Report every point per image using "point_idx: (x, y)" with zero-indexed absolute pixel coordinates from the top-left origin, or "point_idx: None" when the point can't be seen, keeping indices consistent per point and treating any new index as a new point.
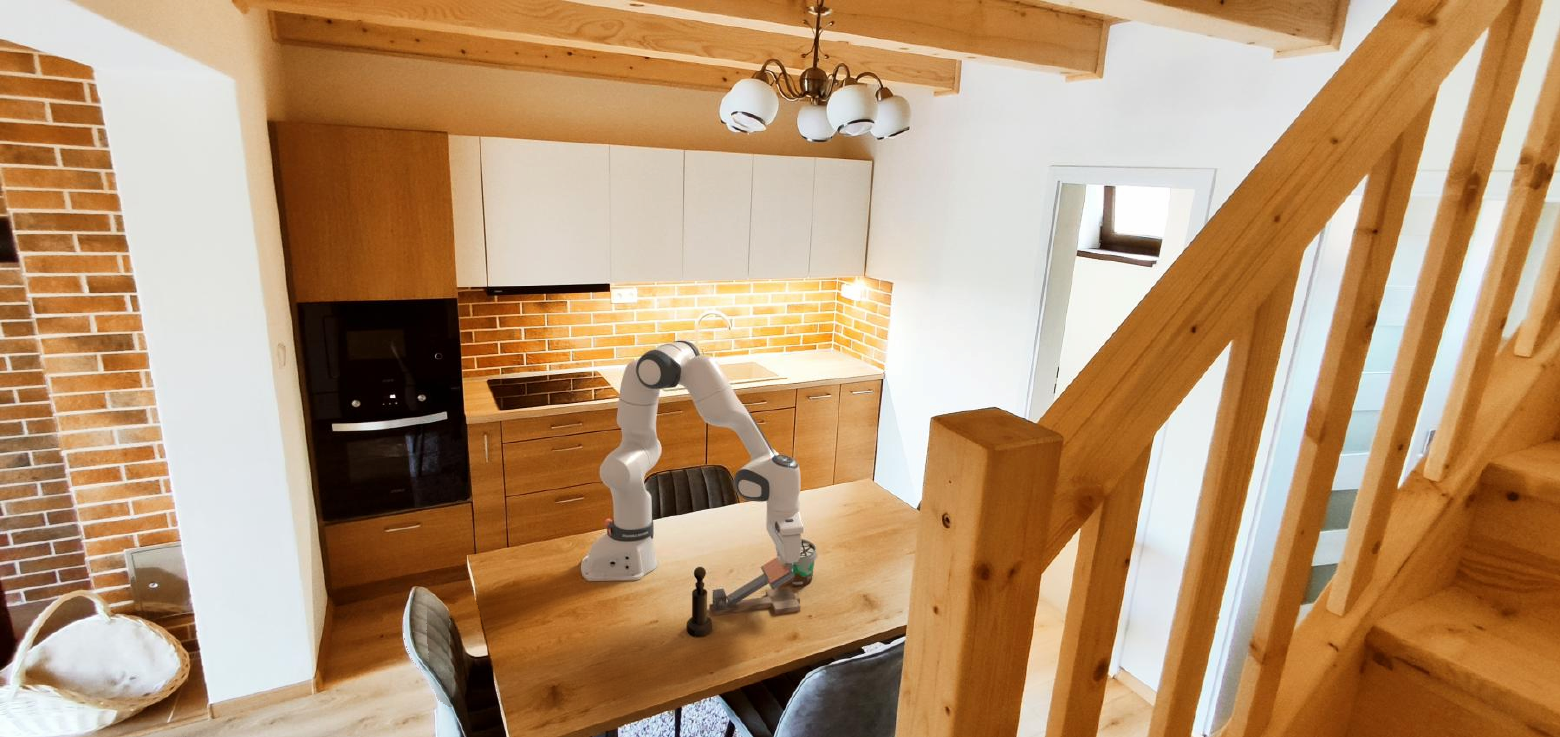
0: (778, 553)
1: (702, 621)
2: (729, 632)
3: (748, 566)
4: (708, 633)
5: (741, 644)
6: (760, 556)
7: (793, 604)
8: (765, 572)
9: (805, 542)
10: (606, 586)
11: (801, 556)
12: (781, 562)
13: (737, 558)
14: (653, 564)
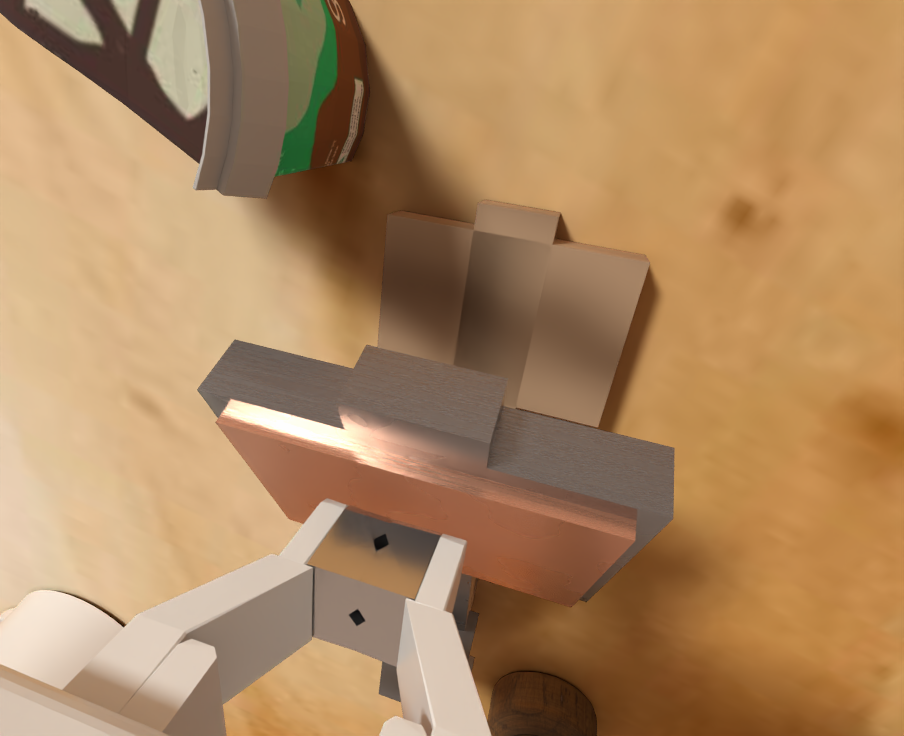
0: (304, 634)
1: None
2: (620, 645)
3: (112, 311)
4: (592, 713)
5: (740, 658)
6: (15, 199)
7: (603, 299)
8: None
9: None
10: None
11: (162, 40)
12: (454, 597)
13: (41, 327)
14: (104, 639)
